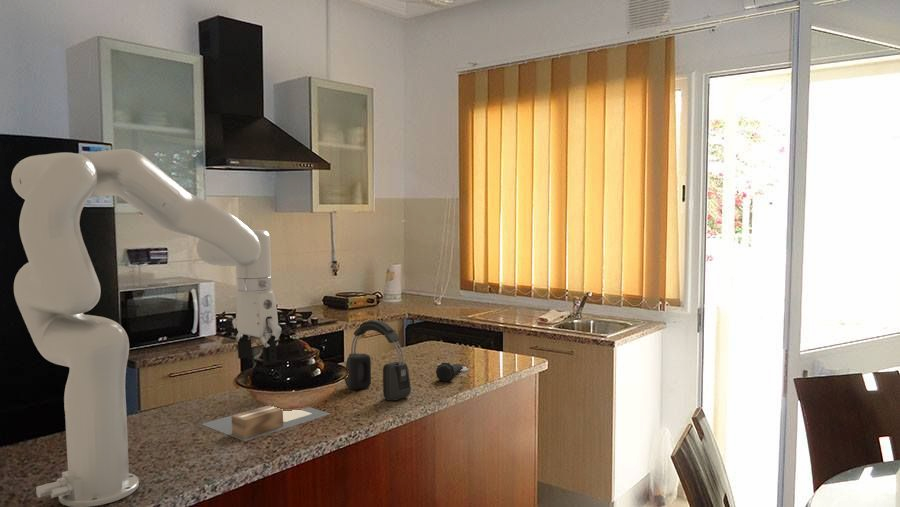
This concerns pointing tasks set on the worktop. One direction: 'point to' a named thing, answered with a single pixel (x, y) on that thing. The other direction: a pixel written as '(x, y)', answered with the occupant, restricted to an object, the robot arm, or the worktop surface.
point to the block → (257, 421)
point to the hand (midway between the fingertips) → (257, 360)
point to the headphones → (393, 373)
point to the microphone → (447, 371)
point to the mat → (288, 421)
